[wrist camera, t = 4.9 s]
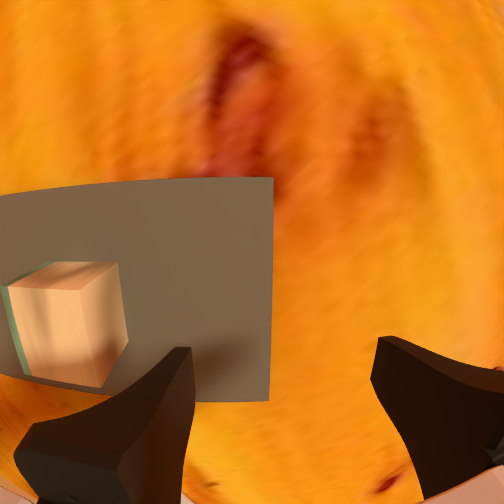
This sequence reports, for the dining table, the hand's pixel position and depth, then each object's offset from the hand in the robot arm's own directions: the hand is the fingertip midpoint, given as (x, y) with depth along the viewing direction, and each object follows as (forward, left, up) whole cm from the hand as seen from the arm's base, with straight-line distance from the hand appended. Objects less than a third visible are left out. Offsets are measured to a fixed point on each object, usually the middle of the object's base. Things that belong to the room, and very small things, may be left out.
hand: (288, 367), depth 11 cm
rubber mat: (-10, +4, -7) cm, 13 cm away
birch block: (-8, +3, -4) cm, 9 cm away
